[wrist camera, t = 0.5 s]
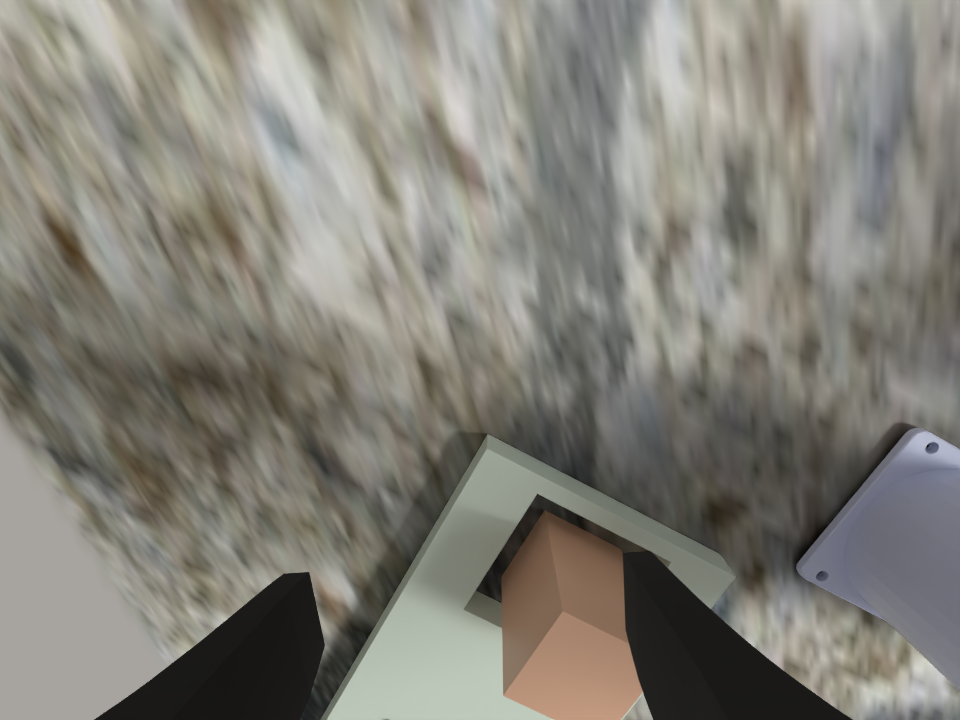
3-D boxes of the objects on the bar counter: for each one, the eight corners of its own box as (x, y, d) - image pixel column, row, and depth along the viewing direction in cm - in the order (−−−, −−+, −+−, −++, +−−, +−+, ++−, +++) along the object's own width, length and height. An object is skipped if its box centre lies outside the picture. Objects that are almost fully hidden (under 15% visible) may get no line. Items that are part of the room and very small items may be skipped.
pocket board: (719, 554, 21) (739, 580, 19) (488, 851, 26) (487, 892, 24) (487, 433, 20) (486, 450, 18) (292, 767, 25) (278, 803, 23)
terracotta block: (620, 548, 21) (667, 662, 15) (574, 612, 22) (602, 742, 16) (544, 509, 21) (562, 611, 15) (501, 576, 22) (503, 695, 16)
